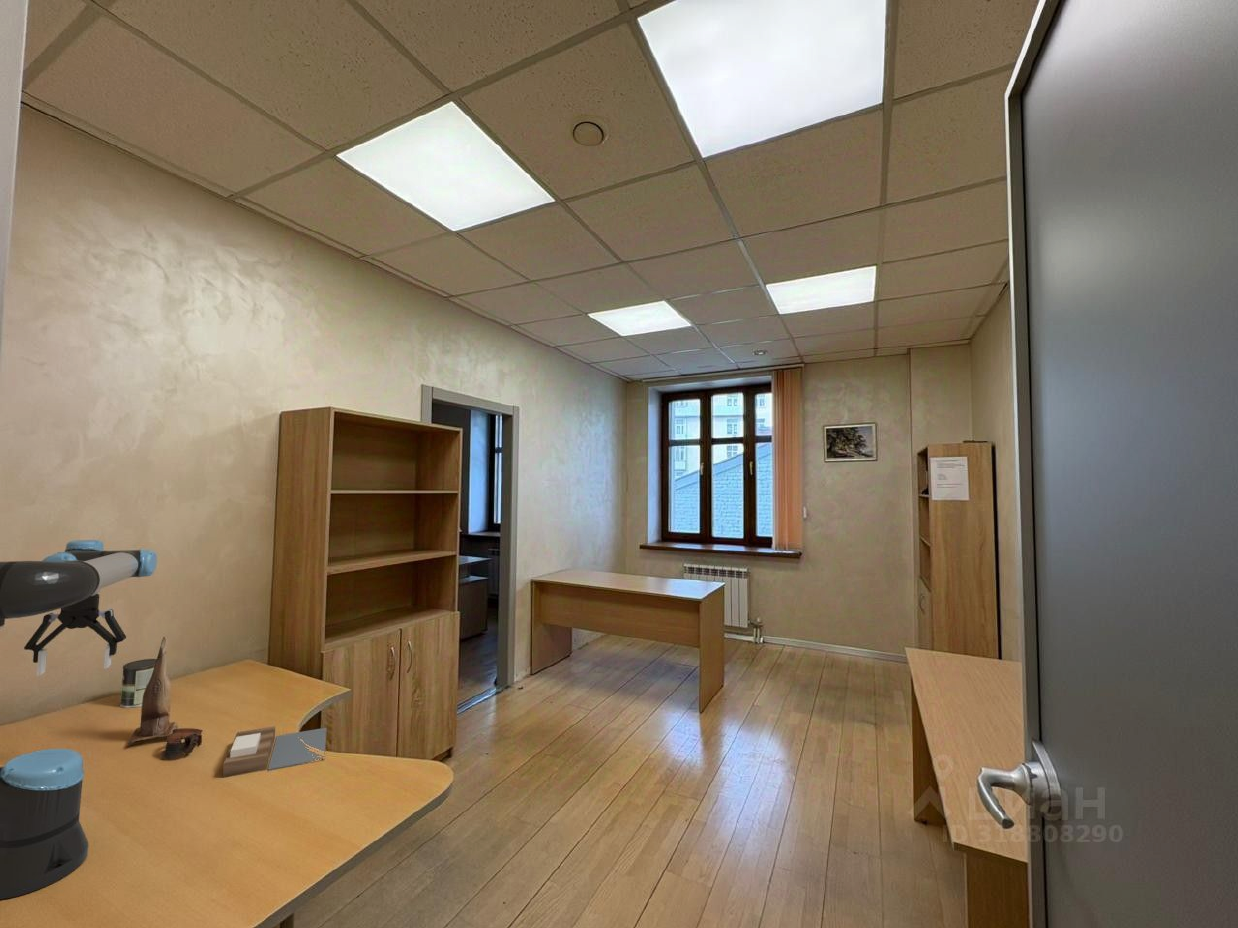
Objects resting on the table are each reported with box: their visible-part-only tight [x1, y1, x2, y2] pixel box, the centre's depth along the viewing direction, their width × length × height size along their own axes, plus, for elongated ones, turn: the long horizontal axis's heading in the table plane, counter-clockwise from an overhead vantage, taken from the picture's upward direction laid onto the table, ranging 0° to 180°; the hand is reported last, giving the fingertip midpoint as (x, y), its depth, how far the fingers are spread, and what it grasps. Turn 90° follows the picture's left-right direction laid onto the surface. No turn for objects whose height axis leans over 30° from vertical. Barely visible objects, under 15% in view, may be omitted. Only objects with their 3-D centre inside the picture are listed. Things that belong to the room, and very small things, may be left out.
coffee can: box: [119, 658, 157, 709], centre depth 189 cm, size 10×10×14 cm
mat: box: [267, 727, 328, 772], centre depth 160 cm, size 22×14×1 cm, turn 28°
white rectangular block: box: [230, 733, 261, 758], centre depth 151 cm, size 9×6×2 cm, turn 28°
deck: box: [222, 725, 276, 778], centre depth 154 cm, size 20×10×4 cm, turn 28°
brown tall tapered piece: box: [125, 636, 179, 750], centre depth 164 cm, size 11×12×32 cm
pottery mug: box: [160, 727, 203, 760], centre depth 155 cm, size 12×10×8 cm
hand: (74, 670), depth 146 cm, fingers open, 13 cm apart
